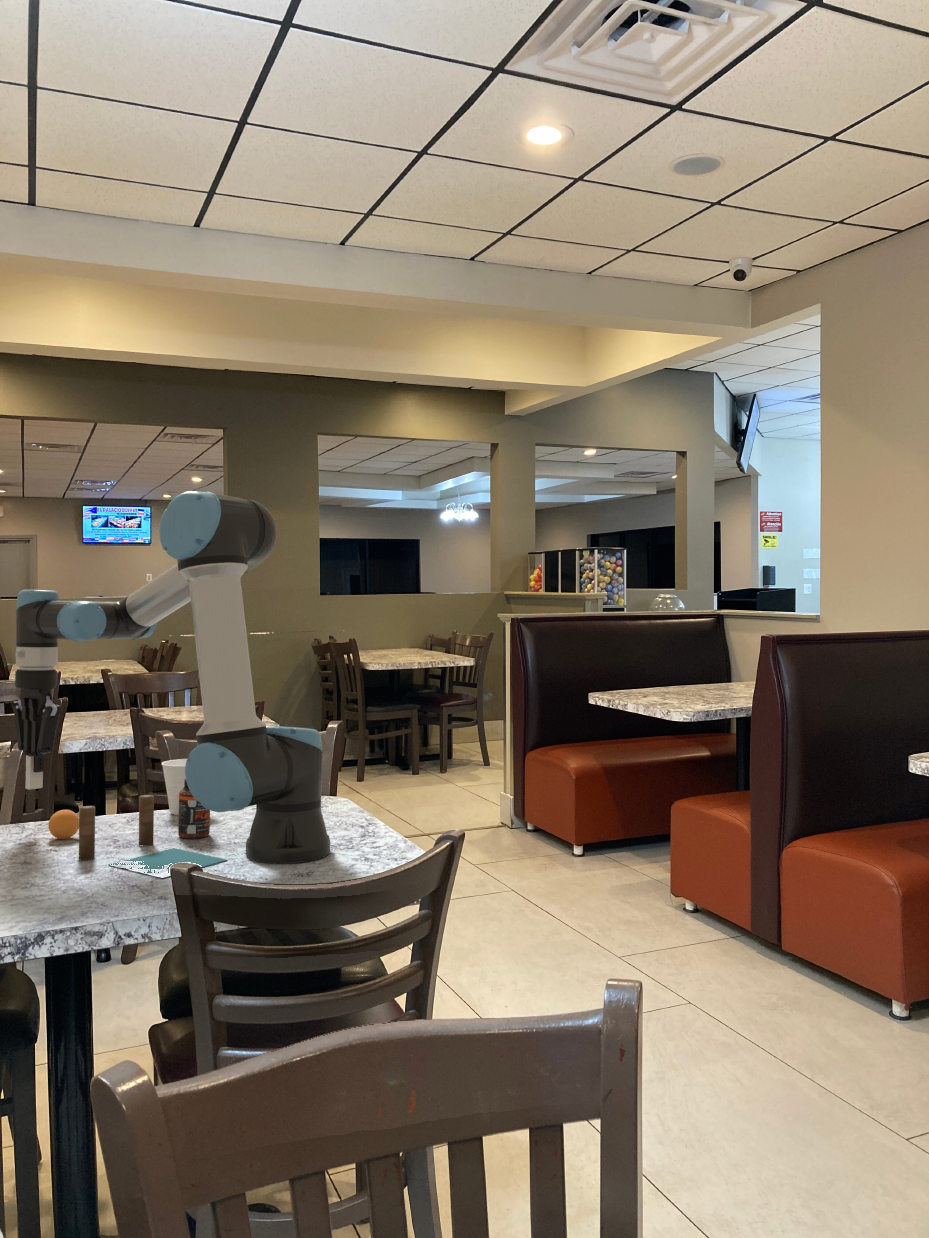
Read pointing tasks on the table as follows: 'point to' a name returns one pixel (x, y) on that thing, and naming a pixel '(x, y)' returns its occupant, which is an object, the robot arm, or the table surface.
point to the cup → (174, 782)
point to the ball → (64, 824)
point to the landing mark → (173, 859)
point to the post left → (86, 832)
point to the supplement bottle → (192, 816)
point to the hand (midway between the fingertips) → (34, 788)
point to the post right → (146, 820)
